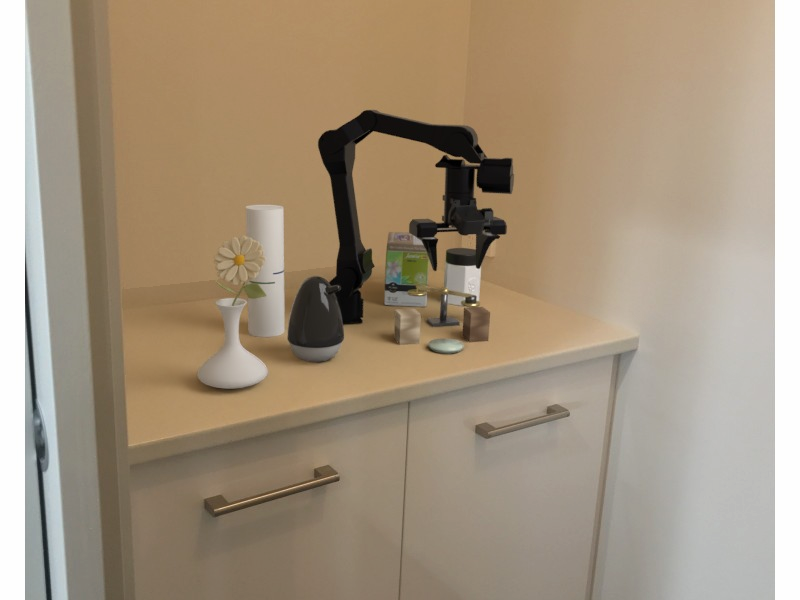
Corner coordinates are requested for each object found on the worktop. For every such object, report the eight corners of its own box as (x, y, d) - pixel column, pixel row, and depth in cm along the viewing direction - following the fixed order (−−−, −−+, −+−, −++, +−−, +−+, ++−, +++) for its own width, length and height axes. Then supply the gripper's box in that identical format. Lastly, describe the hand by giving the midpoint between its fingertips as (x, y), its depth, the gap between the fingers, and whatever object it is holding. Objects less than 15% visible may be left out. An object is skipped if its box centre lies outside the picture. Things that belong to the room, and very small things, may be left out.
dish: (434, 355, 144) (435, 350, 144) (424, 344, 150) (424, 339, 150) (468, 353, 146) (468, 348, 146) (456, 342, 152) (456, 337, 152)
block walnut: (469, 342, 152) (471, 313, 151) (462, 336, 156) (463, 307, 155) (488, 341, 154) (490, 312, 152) (480, 335, 157) (482, 306, 156)
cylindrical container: (291, 332, 155) (291, 207, 149) (263, 339, 150) (261, 211, 144) (269, 324, 160) (268, 203, 153) (241, 331, 155) (238, 206, 148)
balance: (409, 328, 160) (411, 287, 158) (404, 322, 164) (405, 282, 162) (481, 324, 165) (484, 284, 162) (474, 318, 168) (477, 280, 166)
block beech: (399, 345, 150) (400, 315, 148) (394, 338, 153) (395, 309, 152) (419, 343, 151) (420, 314, 149) (413, 337, 154) (414, 308, 153)
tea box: (427, 307, 176) (430, 243, 172) (383, 306, 176) (385, 242, 172) (426, 291, 190) (428, 231, 186) (385, 289, 190) (387, 230, 186)
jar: (456, 308, 176) (459, 256, 173) (435, 299, 183) (437, 249, 179) (486, 303, 181) (490, 252, 178) (465, 295, 187) (468, 246, 184)
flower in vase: (182, 384, 126) (175, 233, 120) (231, 365, 136) (227, 224, 129) (242, 403, 120) (238, 244, 113) (289, 381, 129) (288, 233, 123)
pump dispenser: (321, 371, 134) (322, 286, 130) (275, 359, 140) (274, 277, 136) (355, 355, 143) (357, 275, 139) (311, 344, 148) (311, 267, 144)
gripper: (427, 198, 141) (425, 281, 145) (520, 195, 146) (516, 276, 150) (409, 190, 151) (407, 268, 155) (497, 188, 157) (493, 264, 161)
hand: (456, 269), depth 155 cm, fingers open, 9 cm apart
